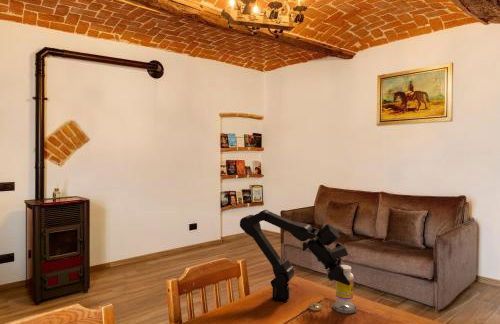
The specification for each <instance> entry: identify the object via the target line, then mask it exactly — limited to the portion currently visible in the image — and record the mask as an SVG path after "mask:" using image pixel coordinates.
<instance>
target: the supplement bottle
mask: <svg viewBox="0 0 500 324" xmlns="http://www.w3.org/2000/svg"><path fill="white" fill-rule="evenodd" d="M341 266H342V267H343V269H344V271H343V273H344V275H345V276H346V278H347V279H348V281H349V282H350V285H349V286H348V285H346V284H343V283H341V282H338V281H336V280H335V298H336V299H337V301H344V302H352V301H353V299H354V281H355V279H354V278H355V277H354V274H353V273H352V266H351V265H347V264H341Z"/></svg>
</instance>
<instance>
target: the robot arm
mask: <svg viewBox="0 0 500 324" xmlns="http://www.w3.org/2000/svg"><path fill="white" fill-rule="evenodd" d="M262 221H264V222H266V223H268V224H271V225H273V226H275V227H276V228H280V229H282V230H284V231H286V232H288V233H289V234H290V235H291V236H292V237H294V238H295V239H296V240H298V241H300V242H302V251H303V252H306V250H307V249H308V250H309V252H310V253H311V254H312V255H313V256H314V257H315V258H316V261H317V262H319V263H321V264H322V265H323V268H324V269H325V270H326V276H327V278H328V280H330V281H335V282H336V281H338V282H341V283H343V284H346V285H348V286H349V285H350V282H349V281H348V279H347V278H346V276H345V275H344V273H343V271H344V269H343V267H342V266H341V265H342V259H341V258H344V257H348V255H349V253H348V250H347V248H346V246H345V244H343V243H341V242H338V241H337V240H338V239H339V238H340V237H341V234H340V233H339V231H338V230H337V229H336V228H335V227H334V226H333V225H330V223H326V224H325V225H324V226H323V227H322V228H321V229H319V228H315V227H312V225H311V224H308V223H304V222H299V221H293V220H290V219H288V218H286V217H283V216H281V215H279V214H277V213H274V212H272V211H270V210H268V209H264V210H261V211H259V212H258V213H256V214H248V215H246V216H243V217H242V218H241V219H240V221H239V227H240V229H241V230H242V231H243V232H244V233H245V234H247V235H248V236H249V237H251V238H252V239H253V240H254V242H255V243H256V245H257V246H258V248H259V249H260V250H261V252H262V254H263V255H264V256H265V257H266V259H267V261H268V262H269V263H270V265H271V267H272V268H271V269H272V272H273V275H274V277H273V278H272V279H271V280H270V285H271V287H272V296H271V301H274V302H279V303H280V302H282V303H287V302H288V300H289V299H290V297H291V288H290V286H289V282H290V281H291V280H292V279H293V278H294V276H295V270H294V268H295V267H294V266H293V265H292V264H291V263H290V261H289V259H286V260H284V259H282V258H281V256H280V255H279V254H278V253H277V251H276V250H275V248H274V246H273V245H272V244H271V242H270V241H269V240H268V237H266V235H265V234H264V232H263V231H262V227H261V222H262ZM336 241H337V242H336ZM334 242H336V243H335V245H334V247H333V248H332V249H331V248H330V247H329V246H331V245H332V244H333V243H334ZM327 246H328V247H327Z"/></svg>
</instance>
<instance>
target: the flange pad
mask: <svg viewBox="0 0 500 324" xmlns="http://www.w3.org/2000/svg"><path fill="white" fill-rule="evenodd" d="M332 309H333V311H335V312H336V313H338V314H341V315H353V314H355V313H356V312H357V306H356V305H355V304H354V303H352V301H349V302H344V301H340V300H337V301H335V302H333V303H332Z"/></svg>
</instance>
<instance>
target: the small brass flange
mask: <svg viewBox="0 0 500 324" xmlns="http://www.w3.org/2000/svg"><path fill="white" fill-rule="evenodd" d="M308 309H309V310H310V311H312V312H321V311H322V309H323V308H322V305H321V304H320V303H317V302H311V303H309V304H308Z"/></svg>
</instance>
